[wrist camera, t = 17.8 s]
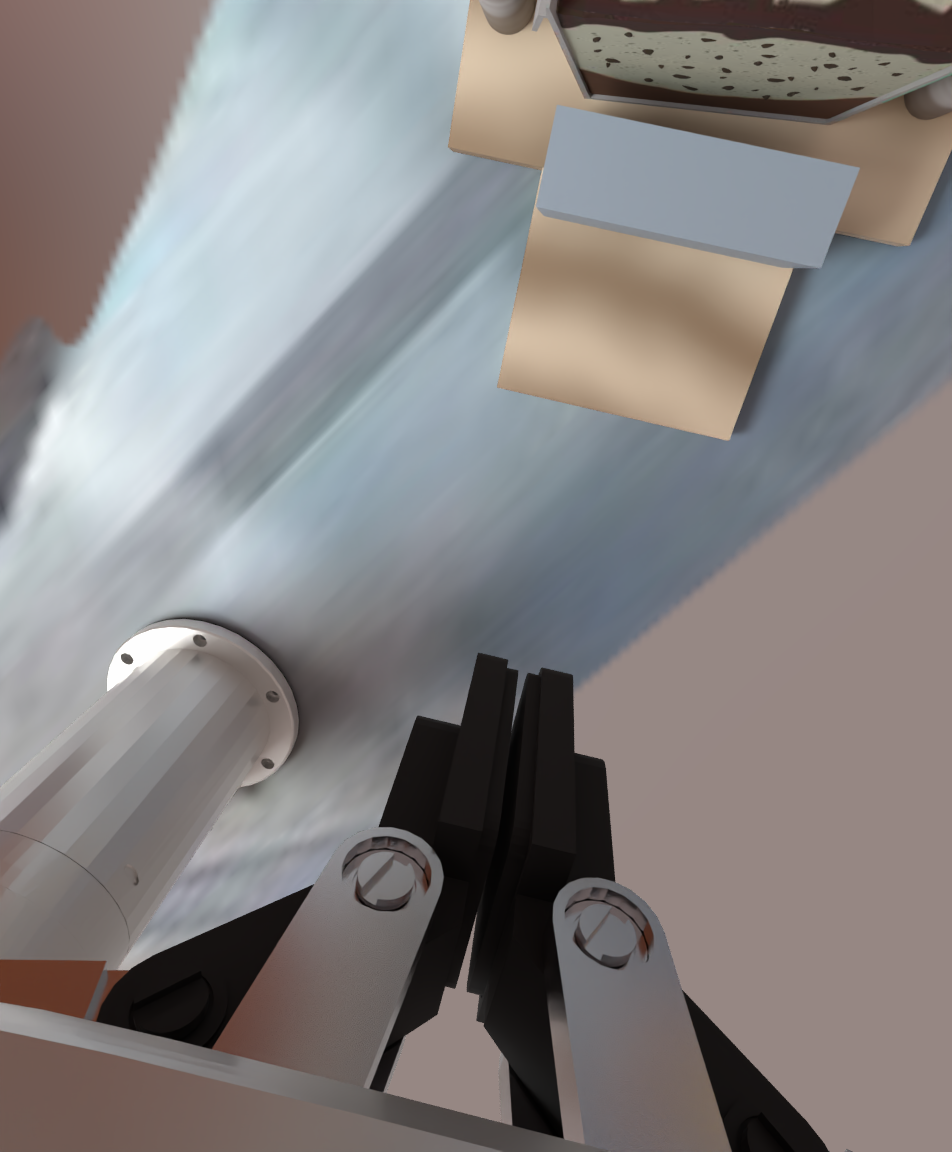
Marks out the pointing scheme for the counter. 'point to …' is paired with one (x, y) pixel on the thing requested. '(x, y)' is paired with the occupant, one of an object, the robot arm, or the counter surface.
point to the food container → (753, 53)
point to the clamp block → (692, 189)
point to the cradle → (653, 268)
